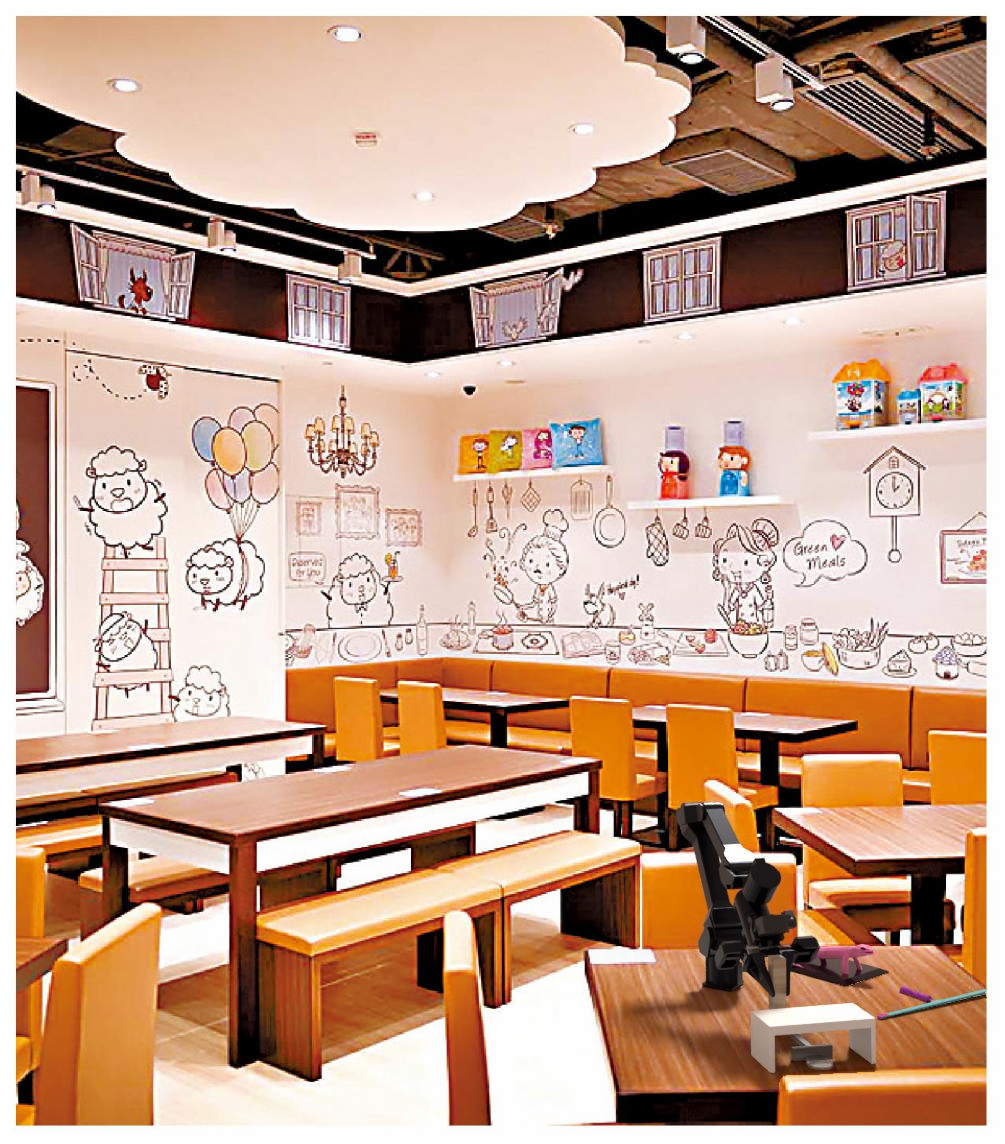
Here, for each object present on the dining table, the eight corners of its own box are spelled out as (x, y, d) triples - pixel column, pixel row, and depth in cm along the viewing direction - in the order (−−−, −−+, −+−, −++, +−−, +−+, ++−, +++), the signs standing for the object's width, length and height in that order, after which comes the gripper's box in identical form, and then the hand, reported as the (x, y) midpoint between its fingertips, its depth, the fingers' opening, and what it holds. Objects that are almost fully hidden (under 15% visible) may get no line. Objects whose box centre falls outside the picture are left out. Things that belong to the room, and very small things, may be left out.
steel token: (802, 1067, 202) (802, 1061, 202) (811, 1059, 205) (811, 1053, 205) (828, 1073, 199) (828, 1066, 199) (836, 1064, 203) (836, 1058, 203)
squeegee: (949, 975, 246) (989, 989, 237) (949, 983, 246) (989, 997, 237) (842, 1000, 233) (881, 1015, 224) (842, 1009, 233) (881, 1025, 224)
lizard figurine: (852, 991, 242) (852, 954, 242) (772, 968, 258) (772, 933, 258) (895, 977, 251) (894, 941, 251) (815, 956, 267) (815, 922, 267)
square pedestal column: (755, 1027, 220) (754, 955, 220) (791, 1024, 221) (790, 952, 222) (793, 1061, 204) (793, 983, 204) (832, 1057, 205) (831, 980, 206)
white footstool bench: (751, 1055, 207) (750, 1010, 207) (853, 1046, 210) (852, 1003, 211) (770, 1072, 199) (769, 1026, 199) (876, 1063, 203) (875, 1018, 203)
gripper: (719, 897, 221) (743, 976, 210) (814, 891, 225) (843, 969, 214) (704, 929, 229) (727, 1007, 218) (797, 924, 232) (824, 1000, 221)
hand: (781, 995), depth 217 cm, fingers closed on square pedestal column, 2 cm apart
